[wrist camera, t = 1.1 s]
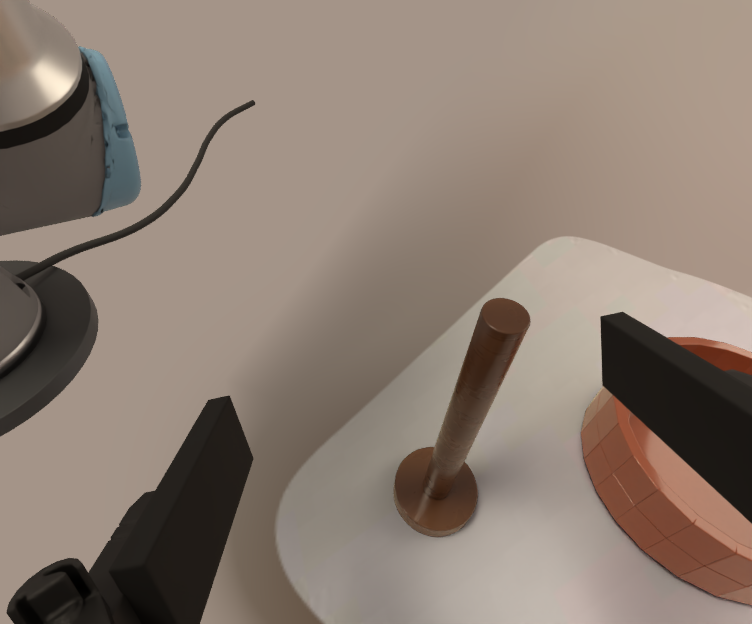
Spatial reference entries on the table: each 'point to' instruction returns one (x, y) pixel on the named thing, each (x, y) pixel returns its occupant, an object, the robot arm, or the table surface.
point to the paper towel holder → (460, 427)
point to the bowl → (670, 490)
